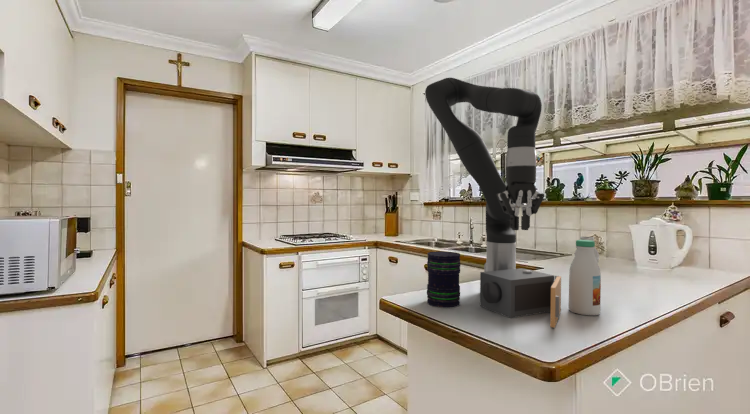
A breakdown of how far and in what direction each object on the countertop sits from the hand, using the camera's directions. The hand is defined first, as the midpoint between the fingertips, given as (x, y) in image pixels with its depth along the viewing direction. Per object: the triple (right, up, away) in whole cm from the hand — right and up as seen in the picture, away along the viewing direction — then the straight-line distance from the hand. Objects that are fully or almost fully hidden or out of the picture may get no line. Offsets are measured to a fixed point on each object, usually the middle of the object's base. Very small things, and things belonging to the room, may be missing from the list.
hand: (520, 229), depth 102 cm
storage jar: (-18, -23, +12) cm, 32 cm away
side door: (+8, -23, -3) cm, 24 cm away
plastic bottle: (+25, -23, +13) cm, 36 cm away
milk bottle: (+19, -23, +4) cm, 30 cm away
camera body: (+1, -23, +6) cm, 24 cm away
